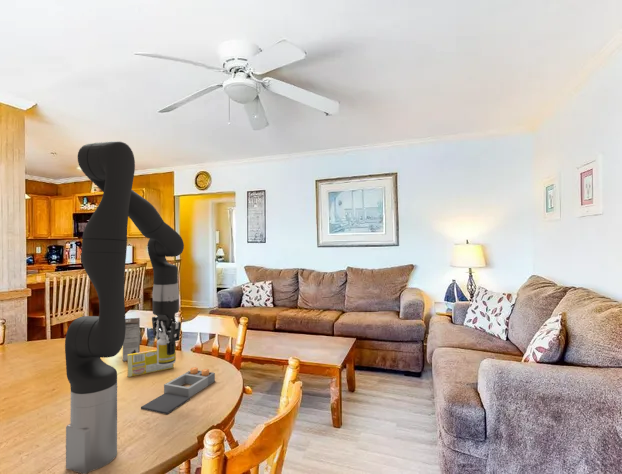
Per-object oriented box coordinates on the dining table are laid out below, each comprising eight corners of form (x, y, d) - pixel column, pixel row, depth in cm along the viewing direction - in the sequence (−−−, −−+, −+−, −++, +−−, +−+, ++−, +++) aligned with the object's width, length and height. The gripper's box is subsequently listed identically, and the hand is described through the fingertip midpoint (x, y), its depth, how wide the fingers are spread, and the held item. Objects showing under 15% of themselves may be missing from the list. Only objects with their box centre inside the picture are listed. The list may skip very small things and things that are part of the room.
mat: (167, 414, 100) (167, 412, 100) (140, 408, 103) (140, 406, 103) (190, 399, 109) (190, 397, 109) (165, 394, 113) (165, 392, 113)
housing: (188, 398, 110) (188, 388, 110) (164, 393, 114) (164, 384, 114) (214, 381, 123) (214, 372, 123) (192, 377, 127) (192, 369, 127)
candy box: (172, 366, 138) (172, 346, 138) (173, 368, 136) (173, 347, 136) (127, 375, 129) (127, 353, 129) (127, 377, 127) (127, 355, 128)
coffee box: (123, 355, 152) (123, 318, 152) (139, 352, 155) (139, 317, 155) (122, 361, 144) (122, 323, 144) (139, 359, 146) (139, 321, 147)
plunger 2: (206, 380, 121) (206, 372, 121) (200, 379, 122) (200, 371, 122) (210, 377, 123) (210, 369, 123) (204, 376, 124) (204, 368, 124)
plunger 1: (194, 378, 122) (194, 370, 122) (188, 377, 123) (188, 369, 123) (199, 375, 125) (199, 367, 125) (193, 375, 126) (193, 366, 126)
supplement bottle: (178, 362, 107) (178, 331, 107) (161, 367, 103) (161, 335, 103) (170, 358, 110) (170, 328, 110) (153, 363, 106) (153, 332, 106)
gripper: (143, 297, 108) (143, 350, 108) (165, 302, 99) (165, 360, 99) (166, 294, 114) (166, 344, 114) (189, 298, 105) (189, 354, 105)
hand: (165, 352), depth 106 cm, fingers closed on supplement bottle, 5 cm apart
